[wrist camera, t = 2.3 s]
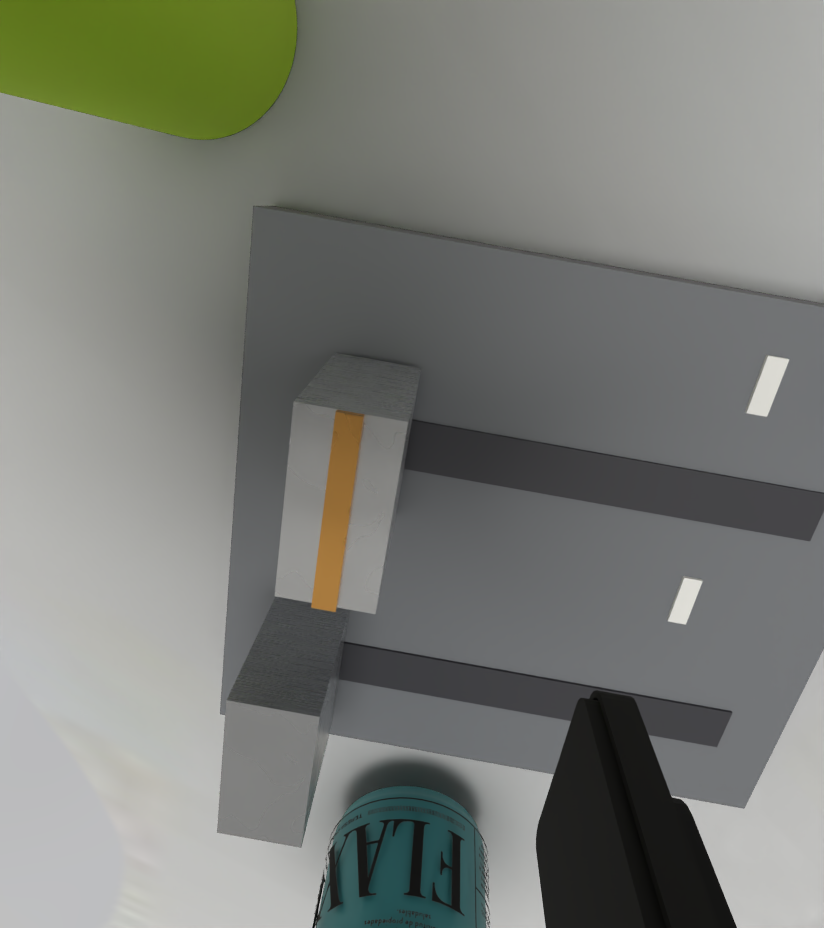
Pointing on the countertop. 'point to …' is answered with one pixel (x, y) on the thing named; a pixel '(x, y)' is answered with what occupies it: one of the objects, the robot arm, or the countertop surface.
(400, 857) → the beverage bottle
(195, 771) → the countertop surface
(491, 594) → the console
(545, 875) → the robot arm
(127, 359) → the countertop surface
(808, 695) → the countertop surface
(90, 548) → the countertop surface
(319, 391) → the fader tab
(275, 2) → the soap dispenser
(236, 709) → the fader tab
